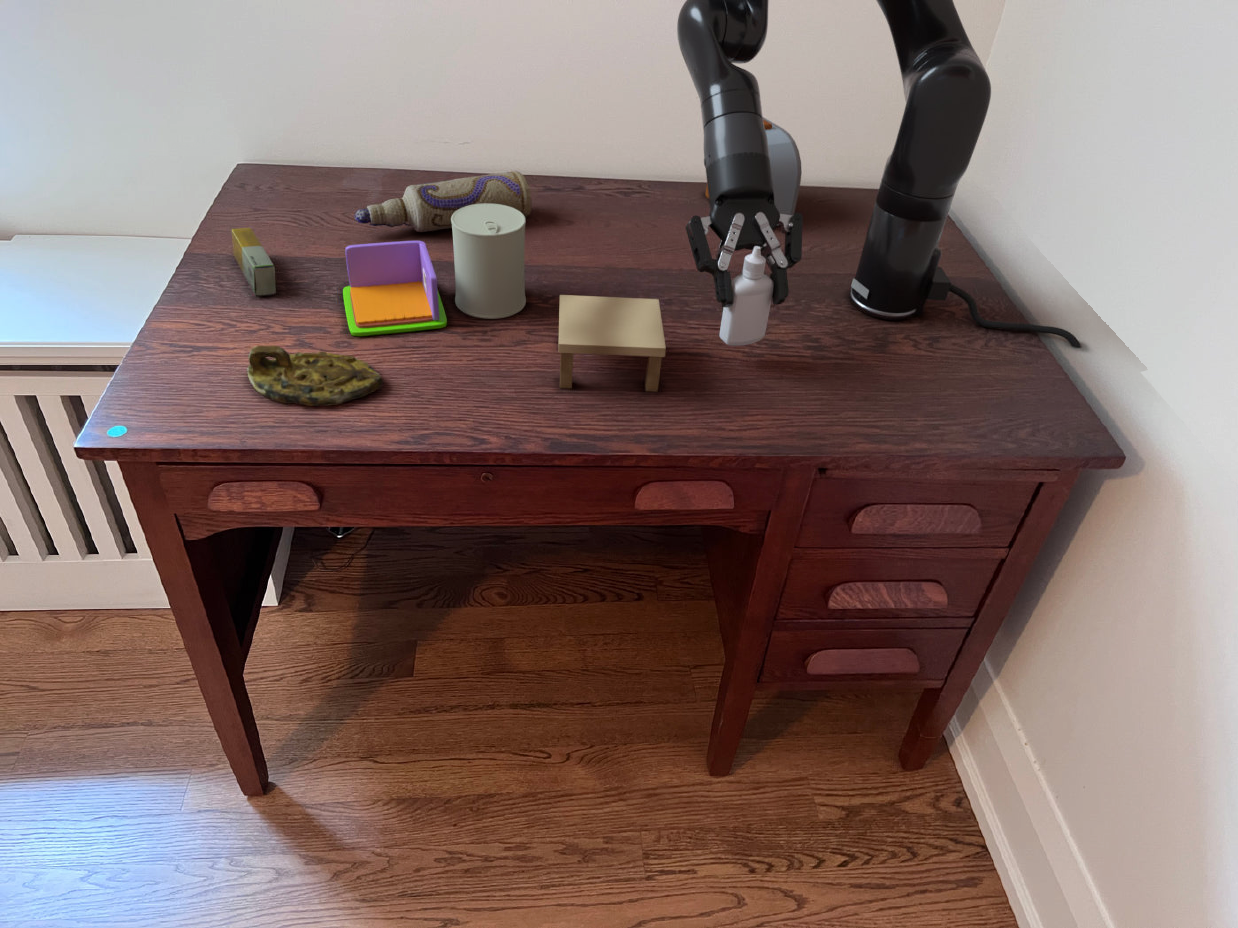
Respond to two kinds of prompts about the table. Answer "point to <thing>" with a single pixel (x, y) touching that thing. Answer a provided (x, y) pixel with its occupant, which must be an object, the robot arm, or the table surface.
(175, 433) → the table surface
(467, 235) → the can
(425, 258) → the dollhouse room
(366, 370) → the seal
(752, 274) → the eye dropper bottle
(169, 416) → the table surface
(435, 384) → the table surface
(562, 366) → the stand
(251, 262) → the medication box
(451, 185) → the decorative bottle
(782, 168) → the alarm clock
